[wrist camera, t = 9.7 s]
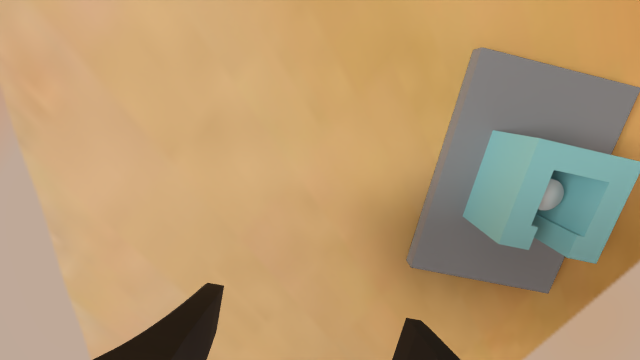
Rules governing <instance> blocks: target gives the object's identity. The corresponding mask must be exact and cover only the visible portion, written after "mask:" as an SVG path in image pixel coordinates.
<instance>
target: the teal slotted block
mask: <svg viewBox="0 0 640 360" xmlns="http://www.w3.org/2000/svg"><path fill="white" fill-rule="evenodd" d="M639 173H640V162H639V161H635V160H631V159H626V158H622V157H618V156H613V155H609V154H605V153H601V152H596V151H592V150H588V149H583V148H579V147H575V146H571V145H566V144H562V143H558V142H554V141H549V140H545V139H541V138H535V137H529V136H524V135H518V134H512V133H506V132H500V131H495V130H493V131H492V134H491V137H490V140H489V143H488V145H487V148H486V151H485V154H484V157H483V160H482V162H481V165H480V168H479V171H478V174H477V177H476V179H475V182H474V185H473V188H472V191H471V194H470V196H469V199H468V202H467V205H466V208H465V211H464V213H463V217H464V218H465V219H467V220H468V221H469V222H471V223H472V224H473V225H475V226H476V227H477V228H478V229H480V230H481V231H482V232H484V233H485V234H486V235H487V236H489V237H490V238H491V239H493V240H494V241H495V242H497V243H498V244H501V245H506V246H511V247H516V248H521V249H526V250H529V248H530V246H531V243H532V241H533V239H534V238H536V239H538V240H539V241H541V242H542V243H544V244H546V245H547V246H549V247H550V248H552V249H554V250H555V251H557V252H558V253H560V254H562V255H563V256H565V257H567V258H570V259H575V260H580V261H585V262H590V263H595V264H596V263H597V261H598V259H599V257H600V255H601V253H602V251H603V248H604V246H605V244H606V242H607V240H608V238H609V236H610V234H611V232H612V230H613V228H614V226H615V223H616V221H617V219H618V217H619V215H620V213H621V211H622V209H623V207H624V205H625V203H626V201H627V198H628V196H629V194H630V192H631V190H632V188H633V186H634V184H635V182H636V180H637V178H638V176H639ZM550 179H554V180H557V181H558V182H560V183H561V184H562V186H563V189H564V195H563V198H562V200H561V202H560V203H559V204H558V205H557V206H556V207H555V208H553V209H550V210H539V209H538V208H539V205H540V203H541V200H542V198H543V196H544V193H545V191H546V188H547V186H548V183H549V181H550Z"/></svg>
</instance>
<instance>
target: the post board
mask: <svg viewBox="0 0 640 360" xmlns="http://www.w3.org/2000/svg"><path fill="white" fill-rule="evenodd" d="M639 91H640V88H639V87H635V86H631V85H627V84H623V83H619V82H615V81H612V80H608V79H604V78H600V77H596V76H592V75H588V74H584V73H580V72H576V71H572V70H569V69H565V68H561V67H557V66H553V65H549V64H545V63H541V62H537V61H533V60H529V59H525V58H522V57H518V56H514V55H510V54H506V53H502V52H498V51H494V50H490V49H486V48H478V49H475V50H473V52H472V55H471V58H470V62H469V65H468V68H467V71H466V74H465V77H464V80H463V84H462V87H461V90H460V93H459V96H458V99H457V102H456V106H455V109H454V112H453V115H452V118H451V121H450V124H449V127H448V131H447V134H446V137H445V140H444V143H443V146H442V149H441V153H440V156H439V159H438V162H437V165H436V168H435V171H434V175H433V178H432V181H431V184H430V187H429V190H428V193H427V196H426V200H425V203H424V206H423V209H422V212H421V215H420V218H419V222H418V225H417V228H416V231H415V234H414V237H413V240H412V244H411V247H410V250H409V253H408V256H407V259H406V260H407V262H408V264H409V265H410V267H412V268H417V269H422V270H428V271H433V272H438V273H443V274H449V275H454V276H459V277H464V278H470V279H475V280H480V281H485V282H490V283H496V284H501V285H506V286H511V287H517V288H522V289H527V290H532V291H538V292H543V293H549V291H550V289H551V286H552V284H553V282H554V280H555V278H556V275H557V273H558V271H559V269H560V266H561V264H562V262H563V260H564V258H565V256H563V255H562V254H560V253H558V252H557V251H555V250H554V249H552V248H550V247H549V246H547V245H546V244H544V243H542V242H541V241H539V240H538V239H536V238H534V239H533V241H532V243H531V246H530V248H529V250H526V249H521V248H516V247H511V246H506V245H501V244H498V243H497V242H495V241H494V240H493V239H491V238H490V237H489V236H487V235H486V234H485V233H484V232H482V231H481V230H480V229H478V228H477V227H476V226H475V225H473V224H472V223H471V222H469V221H468V220H467V219H465V218H464V217H463V213H464V211H465V208H466V205H467V202H468V199H469V196H470V194H471V191H472V188H473V185H474V182H475V179H476V177H477V174H478V171H479V168H480V165H481V162H482V160H483V157H484V154H485V151H486V148H487V145H488V143H489V140H490V137H491V134H492V131H493V130H495V131H500V132H506V133H512V134H518V135H524V136H529V137H535V138H541V139H545V140H549V141H554V142H558V143H562V144H566V145H571V146H575V147H579V148H583V149H588V150H592V151H596V152H601V153H605V154H609V155H611V153H612V151H613V149H614V147H615V145H616V142H617V140H618V138H619V136H620V134H621V131H622V129H623V127H624V125H625V122H626V120H627V118H628V116H629V114H630V111H631V109H632V107H633V105H634V103H635V100H636V98H637V96H638V94H639ZM563 195H564V189H563V186H562V184H561V183H560V182H558V181H557V180H554V179H550V181H549V183H548V186H547V188H546V191H545V193H544V196H543V198H542V200H541V203H540V205H539V208H538V209H539V210H550V209H553V208H555V207H556V206H557V205H558V204H559V203H560V202H561V200H562V198H563Z"/></svg>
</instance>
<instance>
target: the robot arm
mask: <svg viewBox="0 0 640 360" xmlns="http://www.w3.org/2000/svg"><path fill="white" fill-rule="evenodd" d="M223 288H224V286H222V285H217V284H211V283H207V284H205V285H204V286H203V287H202V288H200V289H199V290H198V291H197V292H196V293H195V294H193V295H192V296H191V297H190V298H189V299H187V300H186V301H185V302H184V303H183V304H181V305H180V306H179V307H177V308H176V309H175V310H174V311H172V312H171V313H170V314H168V315H167V316H166V317H164V318H163V319H161V320H160V321H159V322H157V323H156V324H154V325H153V326H151V327H150V328H148V329H147V330H145V331H144V332H142V333H141V334H139V335H138V336H136V337H134V338H133V339H131V340H129V341H128V342H126V343H124V344H122V345H121V346H119V347H117V348H115V349H113V350H111V351H109V352H107V353H105V354H103V355H101V356H99V357H97V358H95V359H93V360H206V359H207V357H208V354H209V351H210V348H211V345H212V342H213V339H214V337H215V334H216V330H217V324H218V318H219V312H220V306H221V300H222V294H223ZM392 360H460V359H459V358H458V357H457V356H456V355H455V354H454V353H453V352H452V351H451V350H450V349H449V348H448V347H447V346H446V345H445V344H444V343H443V342H442V341H441V339H440V338H439V337H438V336H437V335H436V334H435V333H434V332H433V331H432V330H431V329H430V328H429V327H428V326H426V325H425V324H424V323H423V322H422V321H421V320H415V319H409V318H406V320H405V323H404V326H403V329H402V332H401V335H400V338H399V341H398V344H397V347H396V350H395V353H394V356H393V359H392Z"/></svg>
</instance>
